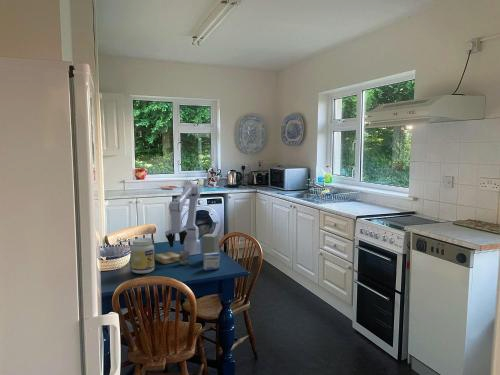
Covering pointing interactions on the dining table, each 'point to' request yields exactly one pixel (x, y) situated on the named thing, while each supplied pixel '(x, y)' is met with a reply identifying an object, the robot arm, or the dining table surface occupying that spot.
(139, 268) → the supplement tub
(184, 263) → the column
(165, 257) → the green-striped tan block
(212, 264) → the medicine box
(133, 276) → the dining table surface
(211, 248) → the skincare box
